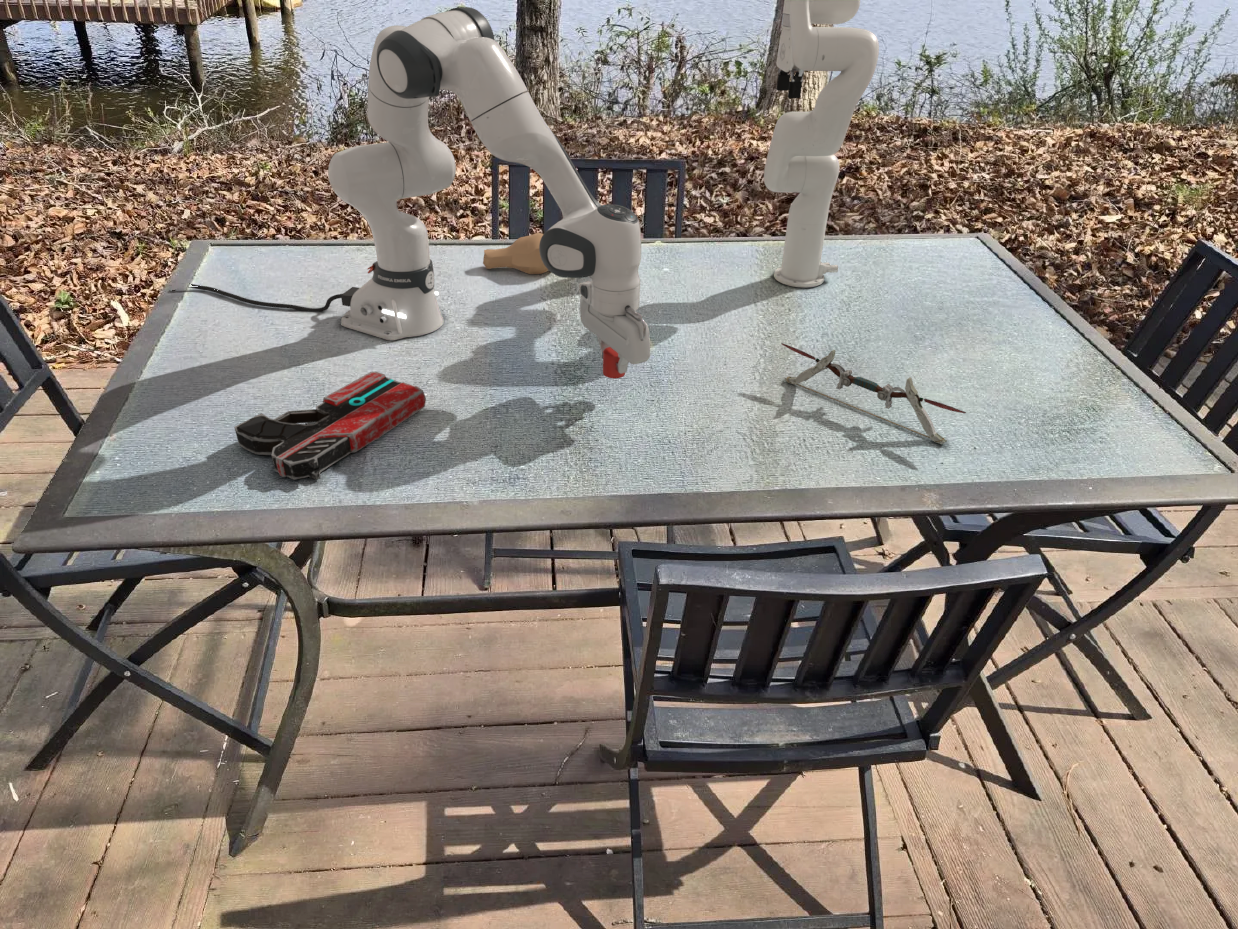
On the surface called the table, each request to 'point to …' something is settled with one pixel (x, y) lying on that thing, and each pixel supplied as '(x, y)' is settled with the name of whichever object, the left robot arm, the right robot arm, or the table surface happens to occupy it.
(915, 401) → the bow
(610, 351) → the canister
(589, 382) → the table surface
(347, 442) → the gun
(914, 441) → the table surface
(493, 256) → the squash
